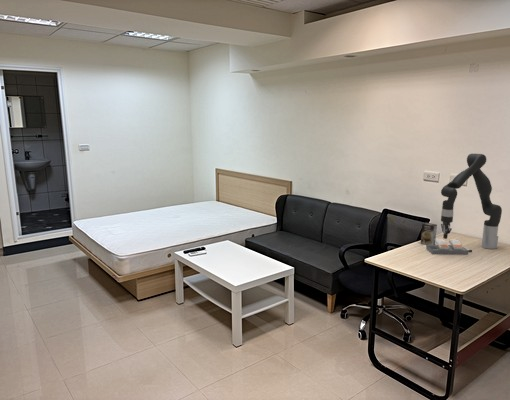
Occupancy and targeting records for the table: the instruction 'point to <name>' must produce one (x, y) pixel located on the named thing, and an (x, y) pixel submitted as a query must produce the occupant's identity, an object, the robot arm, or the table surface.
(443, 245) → the block
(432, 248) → the rocker switch panel
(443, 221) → the robot arm
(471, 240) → the table surface
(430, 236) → the coffee box
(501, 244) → the table surface
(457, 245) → the rocker
